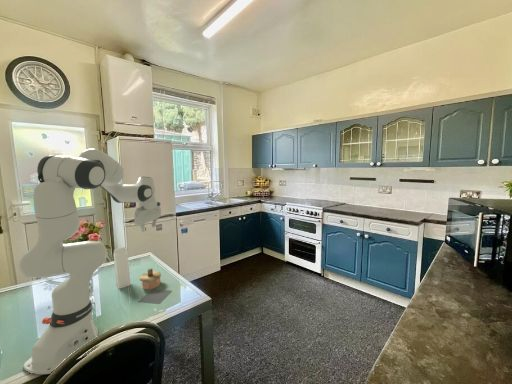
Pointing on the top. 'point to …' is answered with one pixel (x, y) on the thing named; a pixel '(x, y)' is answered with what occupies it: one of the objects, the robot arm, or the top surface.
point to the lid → (150, 276)
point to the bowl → (151, 284)
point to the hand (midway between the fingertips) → (149, 228)
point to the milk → (121, 267)
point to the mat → (155, 296)
